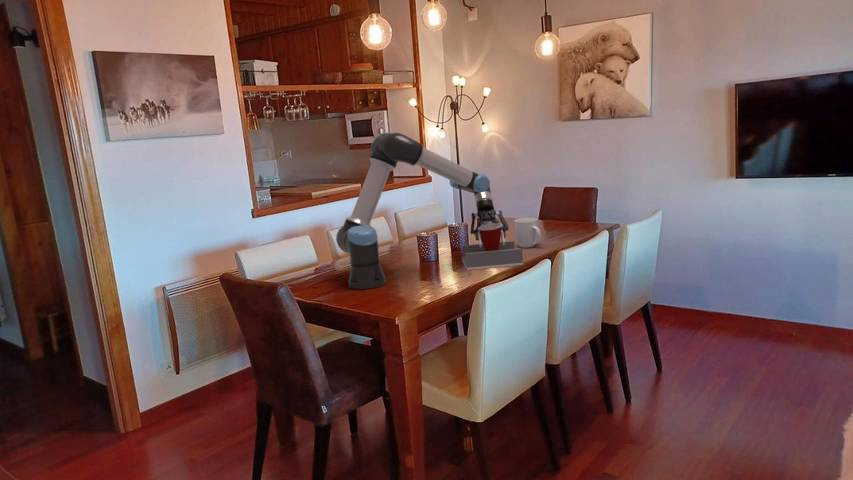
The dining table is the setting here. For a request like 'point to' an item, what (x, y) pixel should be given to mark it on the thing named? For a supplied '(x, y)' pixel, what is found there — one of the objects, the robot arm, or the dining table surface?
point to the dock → (491, 256)
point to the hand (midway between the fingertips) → (492, 244)
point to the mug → (527, 232)
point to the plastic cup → (491, 236)
